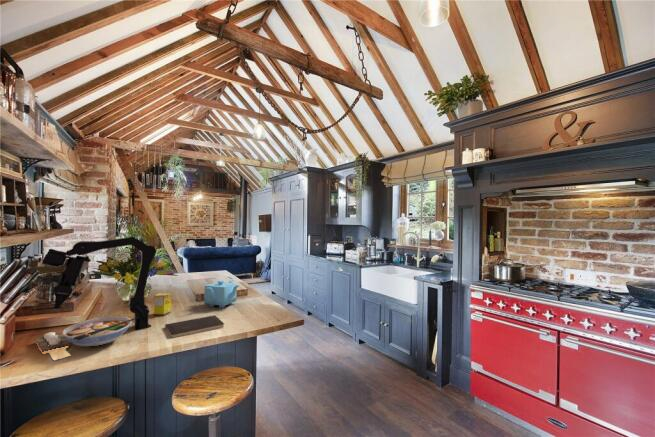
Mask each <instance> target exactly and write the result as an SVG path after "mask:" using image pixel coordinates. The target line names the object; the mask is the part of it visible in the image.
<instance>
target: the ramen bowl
mask: <svg viewBox="0 0 655 437" xmlns="http://www.w3.org/2000/svg"><path fill="white" fill-rule="evenodd" d="M137 318H138V317H137ZM137 318H136V319H137ZM134 320H135V317H134V318H130V317H127V316H120V315H119V316H118V315H116V316H113V315H112V316H104V317H97V318H96V317H95V318H90V319H85V320H83V321H79V322H76V323H74V324H70V325H69V326H67V327H66V328H64V329H63V330H62V331H63V332H62V334H63V335H64V336H65V338H66V339H67V340H68V341H69V342H70V343H72V344H73V345H76V346H78V347H89V346H97V347H99V346H98V345H102V346H104V345H103V344H105V345H107V344H109V343H111V342H113V341H115V340H118V339H119V338H120V337H121V336H123V335H124V334H125V333H126V331H127V330H128V329H129V327H130V326H132V325H131V324H132V322H133V321H134ZM106 343H107V344H106Z"/></svg>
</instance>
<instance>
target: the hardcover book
mask: <svg viewBox="0 0 655 437" xmlns="http://www.w3.org/2000/svg"><path fill="white" fill-rule="evenodd" d="M224 325H225V323H224V322H223V321H222V320H221V319H220V318H219V317H218V316H217V315H209V316H203V317H197V318H192V319H187V320H181V321H176V322H171V323H165V325H164V328H166V330H167V332H168V334H169V335H170V338H172V339H173V338H176V337H183V336H188V335H191V334H197V333H200V332H206V331H207V332H208V331H211V330H216V329H220V328H224Z"/></svg>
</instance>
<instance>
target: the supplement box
mask: <svg viewBox="0 0 655 437" xmlns="http://www.w3.org/2000/svg"><path fill="white" fill-rule="evenodd" d="M171 311H172V293H171V292H159V293H157V294H154V296H153V315H154V316H159V315H160V316H162V317H163V316H166V315H168V314H169V315H170V313H171ZM160 316H159V317H160Z"/></svg>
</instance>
